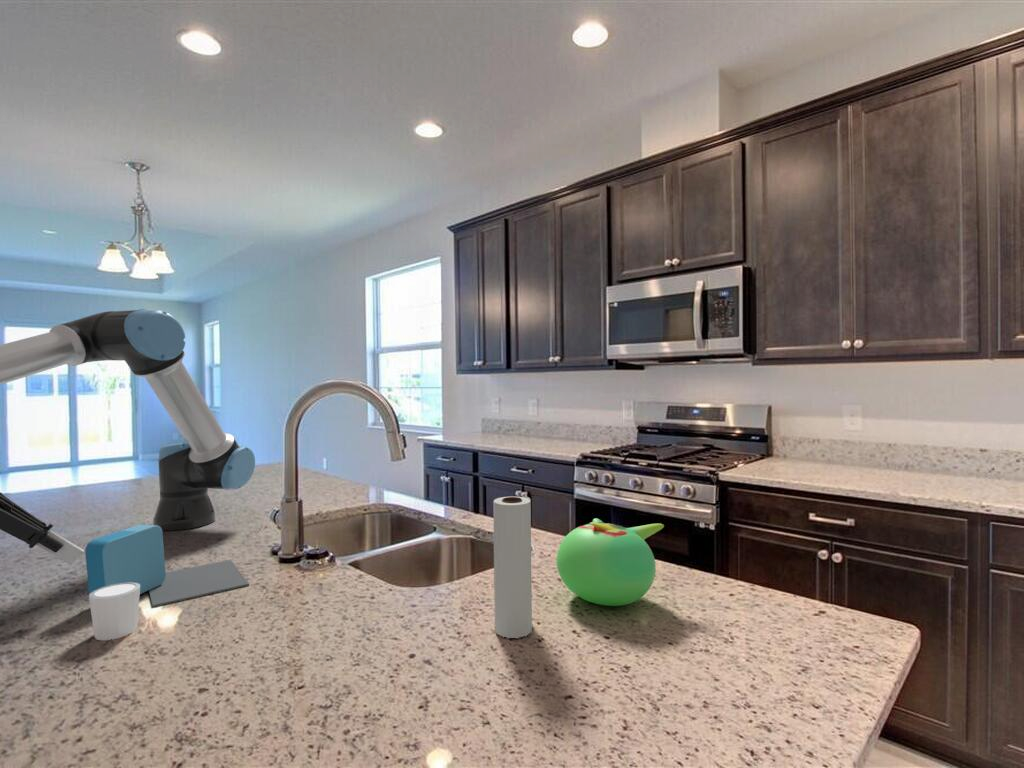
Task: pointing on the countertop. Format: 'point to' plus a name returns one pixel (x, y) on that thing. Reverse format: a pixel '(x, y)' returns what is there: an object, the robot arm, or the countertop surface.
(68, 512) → the countertop surface
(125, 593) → the white short cylinder
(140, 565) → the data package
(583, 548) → the green rounded piece
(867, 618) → the countertop surface
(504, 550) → the paper towel roll
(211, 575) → the mat
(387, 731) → the countertop surface
